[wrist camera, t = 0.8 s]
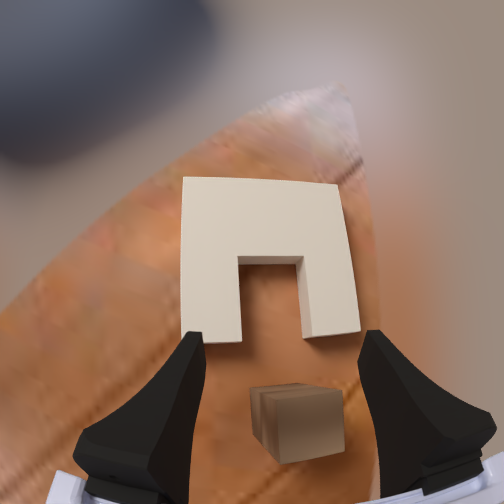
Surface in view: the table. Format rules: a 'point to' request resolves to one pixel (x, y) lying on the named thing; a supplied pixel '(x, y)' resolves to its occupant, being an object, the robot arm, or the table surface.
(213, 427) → the table surface
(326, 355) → the table surface
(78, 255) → the table surface
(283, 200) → the socket block
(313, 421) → the peg
